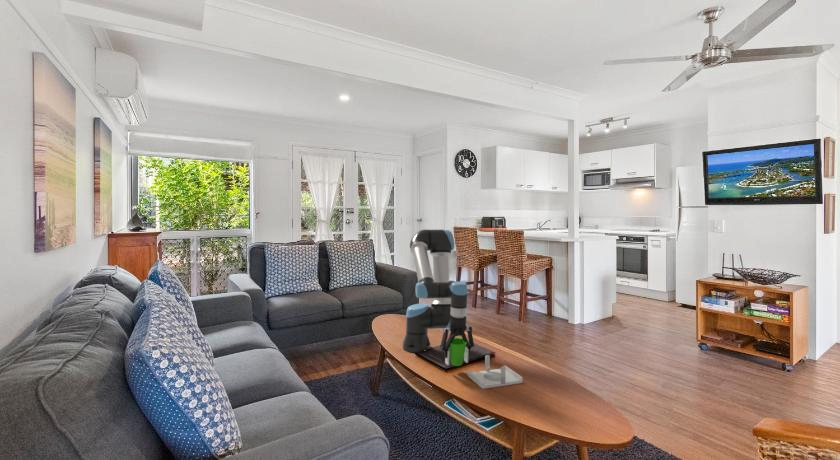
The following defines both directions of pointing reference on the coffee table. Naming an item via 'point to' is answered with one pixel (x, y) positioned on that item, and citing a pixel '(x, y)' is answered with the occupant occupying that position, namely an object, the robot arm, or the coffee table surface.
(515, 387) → the coffee table surface
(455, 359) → the cup
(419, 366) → the coffee table surface
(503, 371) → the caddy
